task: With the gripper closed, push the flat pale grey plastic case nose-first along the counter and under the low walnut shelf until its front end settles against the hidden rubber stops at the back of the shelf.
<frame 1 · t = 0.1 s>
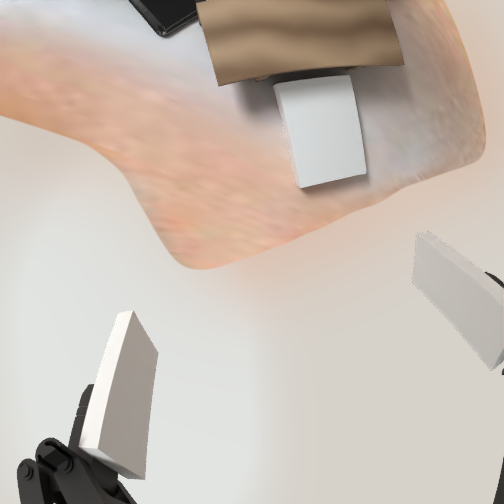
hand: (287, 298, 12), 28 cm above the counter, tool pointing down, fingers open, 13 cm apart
low shelf: (297, 37, 29), on the counter
plastic case: (318, 128, 36), on the counter
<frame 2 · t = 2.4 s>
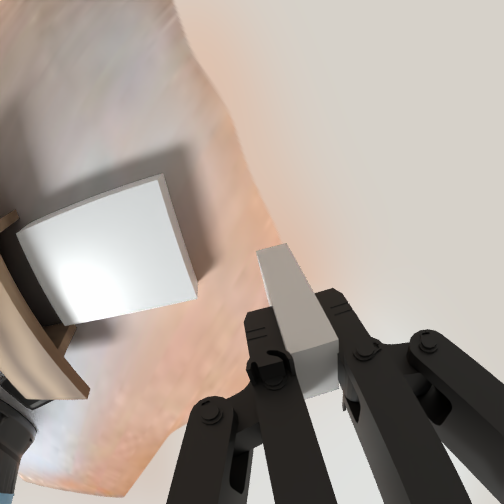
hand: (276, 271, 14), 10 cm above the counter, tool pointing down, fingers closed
low shelf: (13, 284, 22), on the counter
plastic case: (108, 249, 23), on the counter
phone: (30, 382, 29), on the counter
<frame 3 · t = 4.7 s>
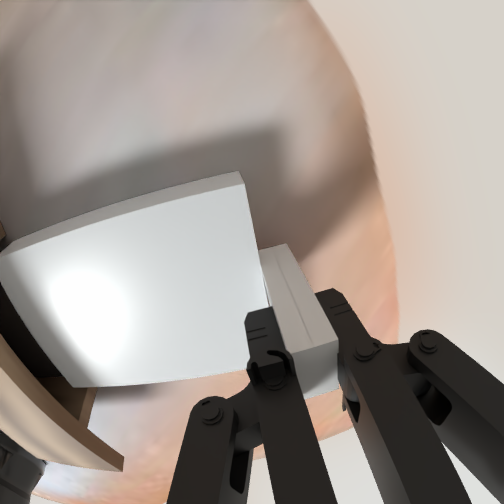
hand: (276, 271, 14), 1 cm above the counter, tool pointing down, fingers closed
low shelf: (6, 324, 15), on the counter
plastic case: (136, 286, 15), on the counter, touching gripper
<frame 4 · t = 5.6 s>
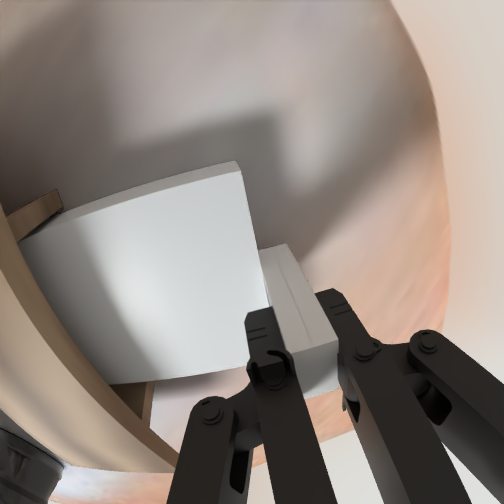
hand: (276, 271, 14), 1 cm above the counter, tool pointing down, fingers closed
low shelf: (46, 314, 15), on the counter
plastic case: (132, 281, 15), on the counter, touching gripper
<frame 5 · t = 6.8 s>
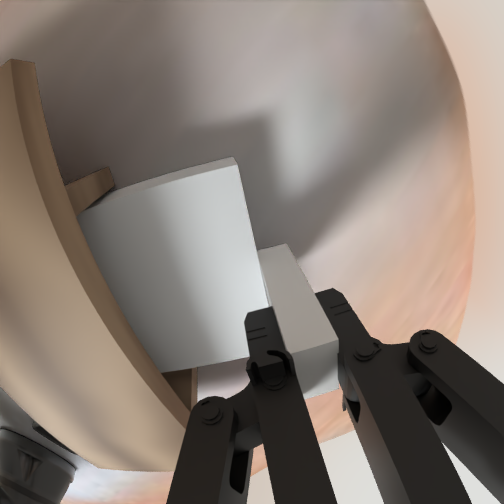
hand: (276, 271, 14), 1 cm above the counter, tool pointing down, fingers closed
low shelf: (80, 306, 15), on the counter
plastic case: (133, 276, 15), on the counter
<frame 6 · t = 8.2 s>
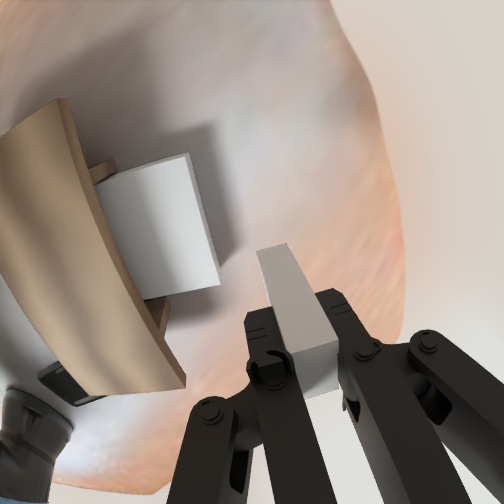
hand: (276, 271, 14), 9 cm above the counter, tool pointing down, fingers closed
low shelf: (88, 255, 22), on the counter
plastic case: (126, 232, 22), on the counter
phone: (80, 376, 30), on the counter
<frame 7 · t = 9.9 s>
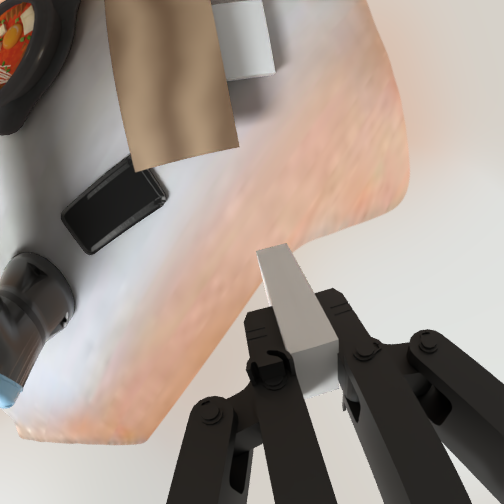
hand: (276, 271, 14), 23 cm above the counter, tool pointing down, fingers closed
low shelf: (172, 60, 27), on the counter
plastic case: (206, 48, 27), on the counter
phone: (111, 205, 34), on the counter
casserole: (30, 53, 22), on the counter
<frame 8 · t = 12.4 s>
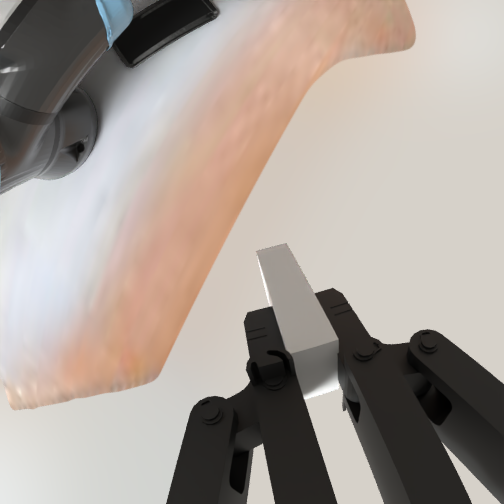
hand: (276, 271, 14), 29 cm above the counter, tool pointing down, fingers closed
phone: (161, 24, 29), on the counter
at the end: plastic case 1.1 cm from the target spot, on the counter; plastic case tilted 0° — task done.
